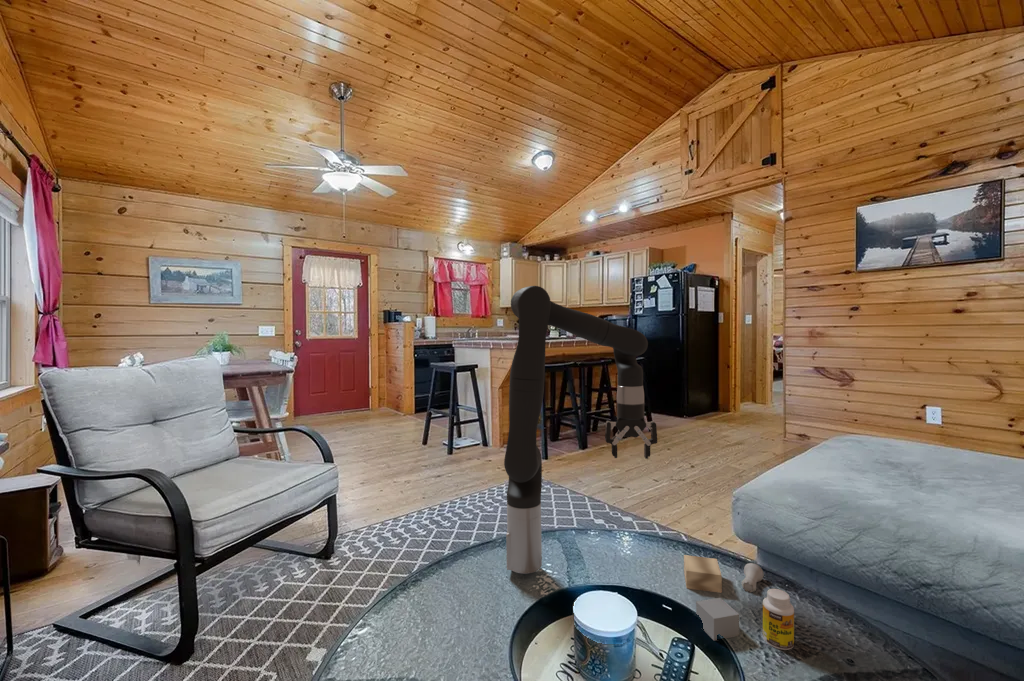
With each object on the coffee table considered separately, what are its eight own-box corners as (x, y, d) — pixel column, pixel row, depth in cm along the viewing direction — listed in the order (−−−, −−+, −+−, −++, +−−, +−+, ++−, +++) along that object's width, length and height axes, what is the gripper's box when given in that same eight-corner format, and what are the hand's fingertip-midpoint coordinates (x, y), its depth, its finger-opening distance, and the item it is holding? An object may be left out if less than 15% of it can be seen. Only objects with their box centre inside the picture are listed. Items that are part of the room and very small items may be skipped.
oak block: (686, 590, 111) (686, 570, 111) (683, 573, 118) (683, 554, 118) (721, 595, 109) (721, 575, 108) (716, 577, 116) (716, 558, 116)
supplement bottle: (764, 648, 90) (764, 598, 90) (760, 631, 95) (760, 583, 95) (797, 655, 88) (797, 604, 88) (791, 637, 93) (791, 589, 93)
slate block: (713, 642, 92) (713, 618, 92) (696, 623, 98) (696, 601, 98) (739, 637, 94) (739, 614, 93) (720, 619, 99) (720, 597, 99)
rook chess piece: (746, 578, 116) (740, 595, 110) (742, 561, 116) (736, 577, 110) (765, 580, 113) (760, 598, 107) (761, 563, 113) (755, 580, 107)
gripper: (606, 403, 124) (606, 461, 124) (659, 403, 122) (659, 462, 123) (603, 399, 131) (604, 453, 132) (653, 399, 130) (653, 454, 130)
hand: (630, 457), depth 127 cm, fingers open, 8 cm apart
